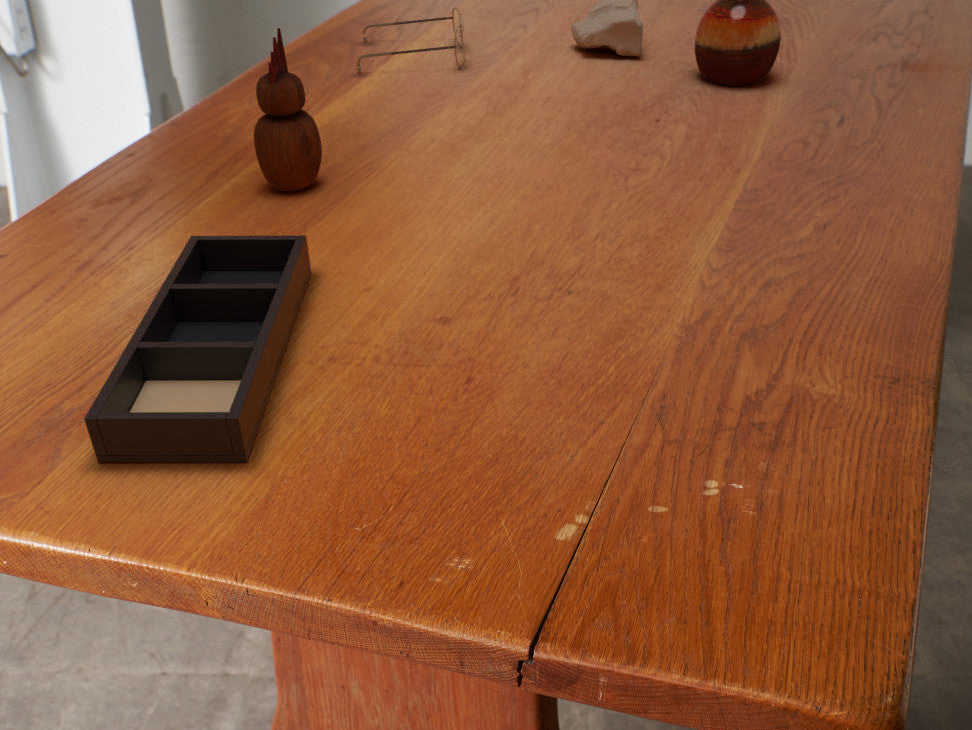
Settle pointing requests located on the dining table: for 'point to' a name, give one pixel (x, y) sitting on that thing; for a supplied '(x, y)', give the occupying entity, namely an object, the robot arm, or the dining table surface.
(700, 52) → the vase
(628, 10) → the decorative stone
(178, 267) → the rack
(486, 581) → the dining table surface
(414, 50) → the eyeglasses
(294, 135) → the wooden figurine
